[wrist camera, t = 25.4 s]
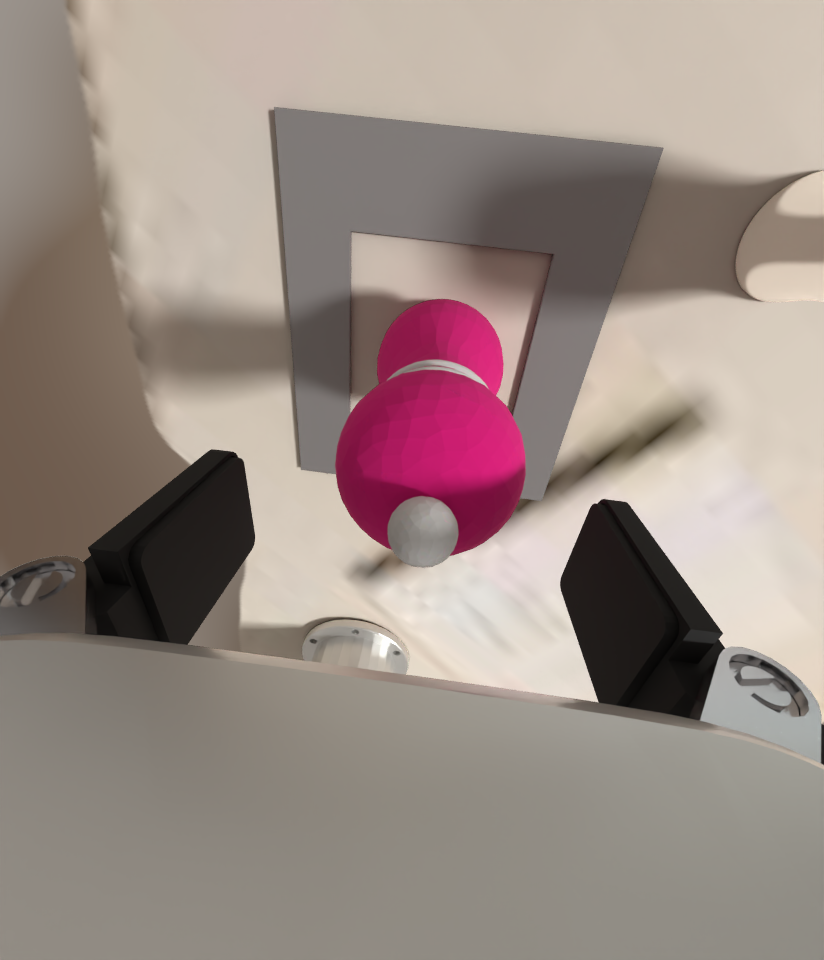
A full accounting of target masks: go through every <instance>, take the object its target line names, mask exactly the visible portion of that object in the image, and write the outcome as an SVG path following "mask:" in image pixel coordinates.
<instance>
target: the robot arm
mask: <svg viewBox="0 0 824 960" xmlns="http://www.w3.org/2000/svg"><path fill="white" fill-rule="evenodd" d="M254 542H255V532H254V526H253V519H252V513H251V506H250V499H249V493H248V486H247V480H246V473H245V467H244V462H243V460H242V459H241V458H238V456H237V454H236V453H234V452H229V451H222V450H210V451H208V452H207V453H206V454H204V455H203V456H202V457H201V458H199V459H198V460H197V461H196V462H194V463H193V464H192V465H191V466H189V467H188V468H187V469H186V470H184V471H183V472H182V473H181V474H179V475H178V476H177V477H176V478H174V479H173V480H172V481H171V482H170V483H168V484H167V485H166V486H165V487H163V488H162V489H161V490H160V491H158V492H157V493H156V494H155V495H153V496H152V497H151V498H150V499H148V500H147V501H146V502H145V503H143V504H142V505H141V506H140V507H138V508H137V509H136V510H135V511H133V512H132V513H131V514H130V515H128V516H127V517H126V518H125V519H123V520H122V521H121V522H120V523H118V524H117V525H116V526H115V527H113V528H112V529H111V530H110V531H108V532H107V533H106V534H105V535H103V536H102V537H101V538H100V539H98V540H97V541H96V542H95V543H93V544H92V545H91V546H90V547H88V549H89V551H90V553H91V556H90V557H89V558H88V559H86V560H85V561H84V562H82V561H81V560H80V559H78V558H75V557H70V556H52V557H47V558H42V559H38V560H35V561H31V562H29V563H26V564H23V565H21V566H18V567H16V568H14V569H12V570H10V571H8V572H7V573H5V574H4V575H2V576H0V960H824V725H822V724H821V712H820V708H819V704H818V702H817V701H816V699H815V697H814V696H813V694H812V693H811V691H810V690H809V689H808V688H807V687H806V686H805V685H804V684H803V682H802V681H801V680H800V679H799V678H797V677H796V676H795V675H794V674H793V673H791V672H790V671H789V670H788V669H787V668H785V667H784V666H782V665H781V664H779V663H778V662H776V661H774V660H773V659H771V658H769V657H767V656H765V655H763V654H761V653H759V652H757V651H754V650H750V649H747V648H743V647H729V648H726V649H725V648H724V646H723V645H722V643H721V642H720V640H719V638H720V636H721V635H722V634H723V633H722V631H721V630H720V629H719V627H718V626H717V625H716V623H715V622H714V620H713V619H712V618H711V616H710V615H709V614H708V612H707V611H706V610H705V608H704V607H703V605H702V604H701V603H700V601H699V600H698V599H697V597H696V596H695V594H694V593H693V592H692V590H691V589H690V588H689V586H688V585H687V583H686V582H685V581H684V579H683V578H682V577H681V575H680V574H679V573H678V571H677V570H676V568H675V567H674V566H673V564H672V563H671V562H670V560H669V559H668V557H667V556H666V555H665V553H664V552H663V551H662V549H661V548H660V546H659V545H658V544H657V542H656V541H655V540H654V538H653V537H652V536H651V534H650V533H649V531H648V530H647V529H646V527H645V526H644V525H643V523H642V522H641V520H640V519H639V518H638V516H637V515H636V514H635V512H634V511H633V509H632V508H631V507H630V505H629V504H628V503H627V502H622V501H614V500H606V499H603V500H601V501H600V502H599V503H598V504H593V505H592V506H591V508H590V510H589V512H588V515H587V517H586V519H585V522H584V524H583V526H582V529H581V531H580V534H579V536H578V538H577V541H576V543H575V546H574V548H573V550H572V553H571V555H570V557H569V560H568V562H567V565H566V567H565V569H564V572H563V574H562V577H561V581H560V587H561V592H562V595H563V598H564V601H565V604H566V607H567V610H568V613H569V616H570V618H571V621H572V624H573V627H574V630H575V633H576V636H577V639H578V642H579V645H580V648H581V651H582V654H583V657H584V660H585V663H586V666H587V669H588V672H589V675H590V678H591V681H592V684H593V687H594V690H595V693H596V696H597V699H598V702H599V703H597V702H591V701H585V700H578V699H572V698H565V697H558V696H551V695H544V694H537V693H530V692H523V691H517V690H510V689H503V688H496V687H489V686H482V685H475V684H469V683H462V682H455V681H448V680H440V679H433V678H426V677H419V676H412V675H406V673H407V670H408V664H409V656H408V652H407V649H406V647H405V646H404V644H403V643H402V642H401V641H400V640H399V639H398V638H397V637H396V636H395V635H394V634H392V633H391V632H389V631H387V630H386V629H384V628H382V627H379V626H377V625H375V624H371V623H368V622H364V621H358V620H346V619H343V620H333V621H329V622H325V623H322V624H320V625H318V626H316V627H315V628H313V629H312V630H311V631H310V632H309V633H308V634H307V636H306V638H305V641H304V643H303V646H302V656H303V659H304V660H297V659H289V658H282V657H275V656H267V655H260V654H252V653H245V652H237V651H230V650H222V649H215V648H207V647H200V646H193V645H187V644H188V643H189V641H190V640H191V639H192V637H193V636H194V634H195V632H196V631H197V630H198V628H199V627H200V625H201V624H202V622H203V621H204V619H205V618H206V616H207V615H208V613H209V612H210V611H211V609H212V608H213V606H214V605H215V603H216V602H217V600H218V599H219V597H220V596H221V594H222V593H223V591H224V590H225V588H226V587H227V585H228V584H229V582H230V581H231V579H232V578H233V577H234V575H235V574H236V572H237V570H238V569H239V567H240V566H241V565H242V563H243V562H244V560H245V559H246V557H247V556H248V554H249V553H250V551H251V550H252V548H253V546H254Z"/></svg>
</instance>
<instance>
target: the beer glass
mask: <svg viewBox="0 0 824 960" xmlns="http://www.w3.org/2000/svg"><path fill="white" fill-rule="evenodd" d="M735 268H736V276H737V279H738V282H739V284H740V286H741V287H742V289H743V290H744V291H745V292H746V293H747V294H748V295H750V296H751V297H753V298H755V299H758V300H761V301H765V302H792V301H803V300H810V301H818V302H822V303H824V170H823V171H819V172H815V173H812V174H809V175H807V176H804V177H802V178H800V179H798V180H796V181H794V182H793V183H791V184H789V185H788V186H786V187H785V188H783V189H782V190H780V191H779V192H778V193H777V194H775V195H774V196H773V197H772V198H771V199H770V200H769V201H768V202H767V203H766V204H765V205H764V206H763V207H762V208H761V209H760V210H759V211H758V213H757V214H756V215H755V216H754V218H753V219H752V221H751V222H750V224H749V225H748V227H747V229H746V231H745V232H744V234H743V237H742V239H741V241H740V244H739V247H738V251H737V255H736V263H735Z"/></svg>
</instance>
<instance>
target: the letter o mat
mask: <svg viewBox="0 0 824 960" xmlns="http://www.w3.org/2000/svg"><path fill="white" fill-rule="evenodd" d="M274 112H275V125H276V139H277V152H278V166H279V179H280V192H281V206H282V219H283V233H284V246H285V259H286V273H287V286H288V300H289V313H290V327H291V340H292V353H293V367H294V380H295V394H296V407H297V420H298V434H299V447H300V461H301V470H307V471H315V472H323V473H331V474H336V469H335V461H336V452H337V445H338V441H339V438H340V435H341V431H342V429H343V427H344V425H345V423H346V421H347V419H348V416H349V415H350V356H351V231H354V232H363V233H371V234H380V235H389V236H398V237H407V238H416V239H425V240H434V241H442V242H451V243H460V244H469V245H478V246H487V247H496V248H505V249H513V250H522V251H531V252H540V253H549V254H553V256H552V260H551V264H550V268H549V272H548V276H547V280H546V284H545V287H544V291H543V295H542V299H541V303H540V307H539V311H538V315H537V319H536V323H535V327H534V331H533V335H532V338H531V342H530V346H529V350H528V354H527V358H526V362H525V366H524V370H523V374H522V378H521V382H520V386H519V389H518V393H517V397H516V401H515V405H514V409H513V413H512V416H513V418H514V420H515V422H516V424H517V426H518V428H519V430H520V432H521V434H522V439H523V445H524V451H525V464H526V476H525V481H524V486H523V491H522V494H521V496H520V498H523V499H530V500H538V501H542V498H543V495H544V492H545V490H546V487H547V484H548V481H549V478H550V475H551V472H552V469H553V466H554V463H555V461H556V458H557V455H558V452H559V449H560V446H561V443H562V440H563V437H564V435H565V432H566V429H567V426H568V423H569V420H570V417H571V414H572V411H573V409H574V406H575V403H576V400H577V397H578V394H579V391H580V388H581V385H582V383H583V380H584V377H585V374H586V371H587V368H588V365H589V362H590V359H591V356H592V354H593V351H594V348H595V345H596V342H597V339H598V336H599V333H600V330H601V328H602V325H603V322H604V319H605V316H606V313H607V310H608V307H609V304H610V302H611V299H612V296H613V293H614V290H615V287H616V284H617V281H618V278H619V276H620V273H621V270H622V267H623V264H624V261H625V258H626V255H627V252H628V249H629V247H630V244H631V241H632V238H633V235H634V232H635V229H636V226H637V223H638V221H639V218H640V215H641V212H642V209H643V206H644V203H645V200H646V197H647V195H648V192H649V189H650V186H651V183H652V180H653V177H654V174H655V171H656V169H657V166H658V163H659V160H660V157H661V154H662V151H663V148H661V147H651V146H641V145H632V144H622V143H613V142H603V141H594V140H584V139H574V138H565V137H555V136H546V135H536V134H527V133H517V132H507V131H498V130H488V129H479V128H469V127H460V126H450V125H440V124H431V123H421V122H412V121H402V120H393V119H383V118H373V117H364V116H354V115H345V114H335V113H326V112H316V111H307V110H297V109H287V108H278V107H274Z"/></svg>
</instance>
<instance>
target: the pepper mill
mask: <svg viewBox="0 0 824 960" xmlns="http://www.w3.org/2000/svg"><path fill="white" fill-rule="evenodd" d="M377 375H378V380H379V385H377V386H376V387H375V388H374V389H373V390H372V391H370V392H369V393H368V394H367V395H366V396H365V397H364V398H363V399H361V400H360V401H359V403H358V404H357V405H356V406H355V408H354V409H353V411H352V412H351V414H350V415H349V416H348V419H347V421H346V423H345V425H344V427H343V429H342V431H341V435H340V438H339V441H338V445H337V452H336V461H335V469H336V477H337V484H338V488H339V492H340V495H341V498H342V501H343V503H344V505H345V507H346V508H347V510H348V512H349V514H350V516H351V517H352V518H353V519H354V521H355V522H356V523H357V524H358V525H359V527H360V528H361V529H362V530H363V531H364V532H366V533H367V534H368V535H369V536H370V537H371V538H372V539H374V540H375V541H377V542H379V543H380V544H382V545H383V546H385V547H386V548H389V549H391V550H393V552H394V554H395V555H396V556H397V557H398V558H399V559H400V560H402V561H403V562H404V563H406V564H408V565H411V566H415V567H433V566H435V565H437V564H439V563H441V562H443V561H444V560H446V559H447V558H448V557H449V556H451V555H455V554H458V553H461V552H464V551H467V550H470V549H473V548H475V547H477V546H478V545H480V544H482V543H484V542H485V541H487V540H488V539H489V538H490V537H492V536H493V535H494V534H496V533H497V532H498V531H499V530H500V529H501V528H502V527H503V525H504V524H505V523H506V522H507V521H508V520H509V519H510V517H511V515H512V513H513V511H514V510H515V508H516V506H517V504H518V502H519V499H520V496H521V494H522V491H523V486H524V481H525V476H526V464H525V451H524V445H523V439H522V434H521V432H520V430H519V428H518V426H517V424H516V422H515V420H514V418H513V416H512V414H511V412H510V411H509V409H508V408H507V406H506V405H505V404H504V403H503V402H502V401H501V400H500V399H499V398H498V397H497V396H496V394H497V392H498V390H499V388H500V385H501V380H502V376H503V356H502V348H501V345H500V341H499V338H498V336H497V334H496V332H495V330H494V328H493V327H492V325H491V324H490V323H489V321H488V320H487V319H486V318H485V317H484V316H483V315H482V314H481V313H479V312H478V311H477V310H476V309H474V308H472V307H470V306H469V305H467V304H464V303H461V302H459V301H454V300H449V299H436V300H429V301H425V302H422V303H419V304H416V305H415V306H413V307H411V308H409V309H407V310H406V311H405V312H403V313H402V314H401V315H400V316H398V318H397V319H396V320H395V321H394V322H393V323H392V324H391V326H390V327H389V329H388V331H387V332H386V334H385V337H384V339H383V341H382V344H381V347H380V351H379V355H378V362H377Z"/></svg>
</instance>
